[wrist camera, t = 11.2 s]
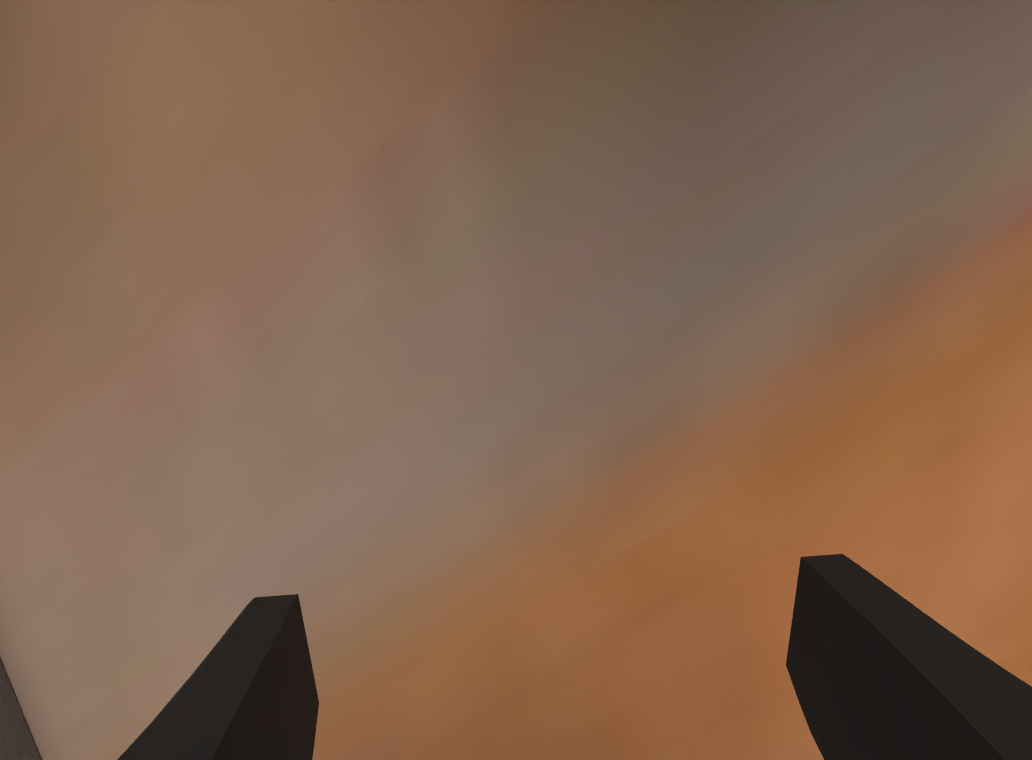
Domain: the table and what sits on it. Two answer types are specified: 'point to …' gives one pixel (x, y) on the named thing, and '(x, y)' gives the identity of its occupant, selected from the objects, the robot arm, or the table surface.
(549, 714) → the table surface
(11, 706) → the clevis block
